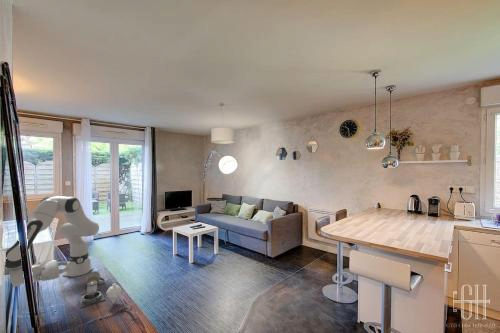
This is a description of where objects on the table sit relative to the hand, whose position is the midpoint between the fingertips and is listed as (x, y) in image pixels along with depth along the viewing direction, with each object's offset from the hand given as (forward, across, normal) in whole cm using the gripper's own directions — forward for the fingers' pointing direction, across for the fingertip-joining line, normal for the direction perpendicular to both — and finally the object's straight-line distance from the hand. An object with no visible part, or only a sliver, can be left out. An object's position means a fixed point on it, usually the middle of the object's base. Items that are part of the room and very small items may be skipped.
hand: (68, 265), depth 135 cm
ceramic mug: (+17, +17, +24) cm, 34 cm away
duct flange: (+11, -4, +23) cm, 26 cm away
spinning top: (+20, -17, +23) cm, 35 cm away
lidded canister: (+11, -4, +23) cm, 26 cm away
